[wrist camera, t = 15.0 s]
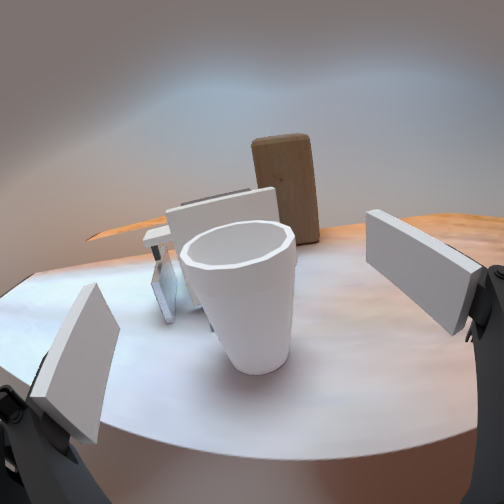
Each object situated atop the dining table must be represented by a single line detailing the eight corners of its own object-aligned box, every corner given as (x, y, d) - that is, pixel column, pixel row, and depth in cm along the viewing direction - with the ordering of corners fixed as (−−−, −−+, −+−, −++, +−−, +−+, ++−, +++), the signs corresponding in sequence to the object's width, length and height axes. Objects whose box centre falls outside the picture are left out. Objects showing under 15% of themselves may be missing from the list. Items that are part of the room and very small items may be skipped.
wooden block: (267, 250, 50) (249, 140, 42) (266, 230, 59) (251, 138, 51) (321, 243, 49) (310, 133, 41) (311, 224, 58) (301, 132, 50)
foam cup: (318, 337, 28) (313, 224, 23) (273, 401, 22) (249, 280, 16) (249, 316, 34) (228, 218, 28) (199, 364, 27) (158, 257, 22)
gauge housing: (293, 309, 33) (283, 218, 28) (164, 341, 31) (128, 255, 26) (259, 252, 50) (249, 188, 45) (170, 273, 48) (152, 211, 43)
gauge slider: (287, 282, 37) (275, 188, 31) (165, 312, 35) (133, 221, 29) (276, 265, 42) (263, 181, 36) (167, 291, 40) (141, 210, 34)
